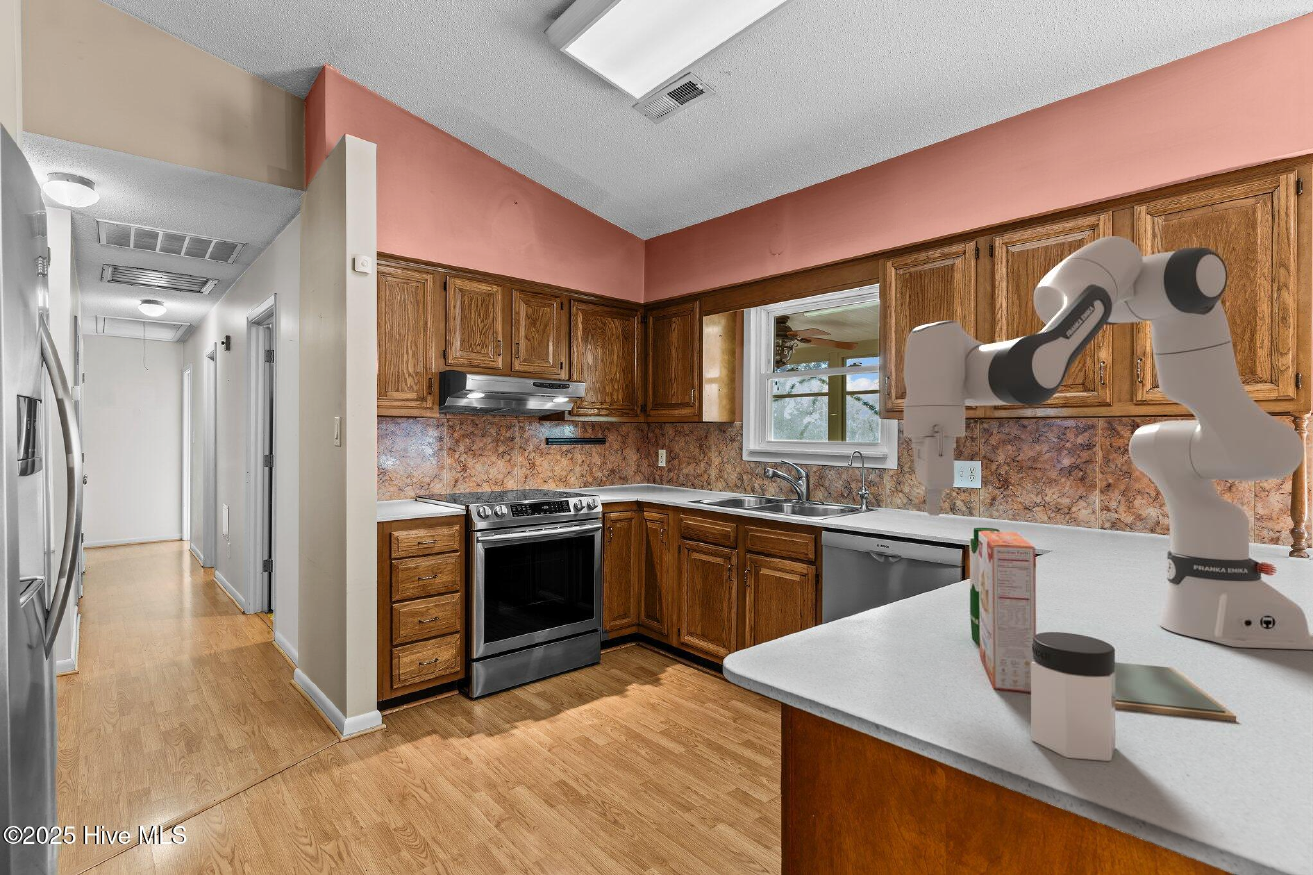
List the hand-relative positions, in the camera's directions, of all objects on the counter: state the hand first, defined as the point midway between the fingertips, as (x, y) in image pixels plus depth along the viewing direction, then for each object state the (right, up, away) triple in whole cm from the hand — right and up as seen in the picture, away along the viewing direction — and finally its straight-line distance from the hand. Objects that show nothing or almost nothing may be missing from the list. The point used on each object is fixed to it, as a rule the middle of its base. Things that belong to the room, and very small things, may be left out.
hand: (933, 514), depth 101 cm
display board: (+23, -24, -7) cm, 34 cm away
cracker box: (+10, -24, -3) cm, 26 cm away
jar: (+6, -24, -25) cm, 35 cm away
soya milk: (+16, -24, +11) cm, 31 cm away
